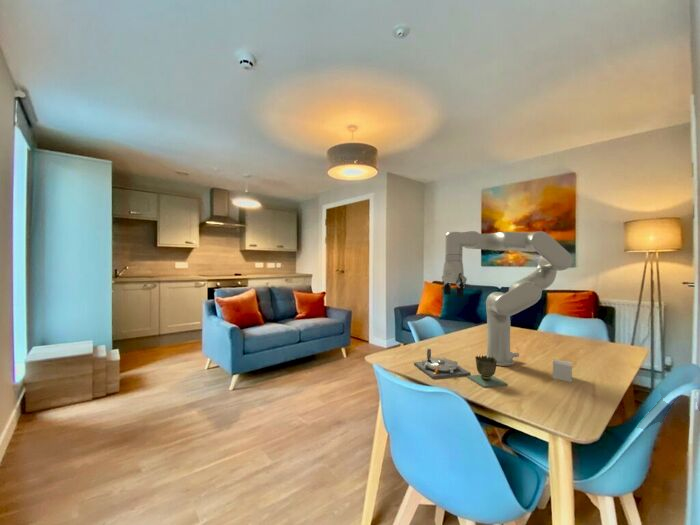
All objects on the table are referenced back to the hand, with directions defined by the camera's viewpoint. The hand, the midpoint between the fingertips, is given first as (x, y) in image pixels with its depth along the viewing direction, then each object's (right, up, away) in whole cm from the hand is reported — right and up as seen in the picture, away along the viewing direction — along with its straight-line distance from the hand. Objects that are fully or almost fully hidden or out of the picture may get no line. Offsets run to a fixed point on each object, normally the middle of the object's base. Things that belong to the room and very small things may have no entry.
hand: (453, 295), depth 140 cm
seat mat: (+4, -30, -26) cm, 39 cm away
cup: (+4, -29, -25) cm, 39 cm away
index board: (-10, -30, -13) cm, 34 cm away
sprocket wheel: (-10, -28, -13) cm, 33 cm away
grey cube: (+35, -30, -22) cm, 51 cm away
